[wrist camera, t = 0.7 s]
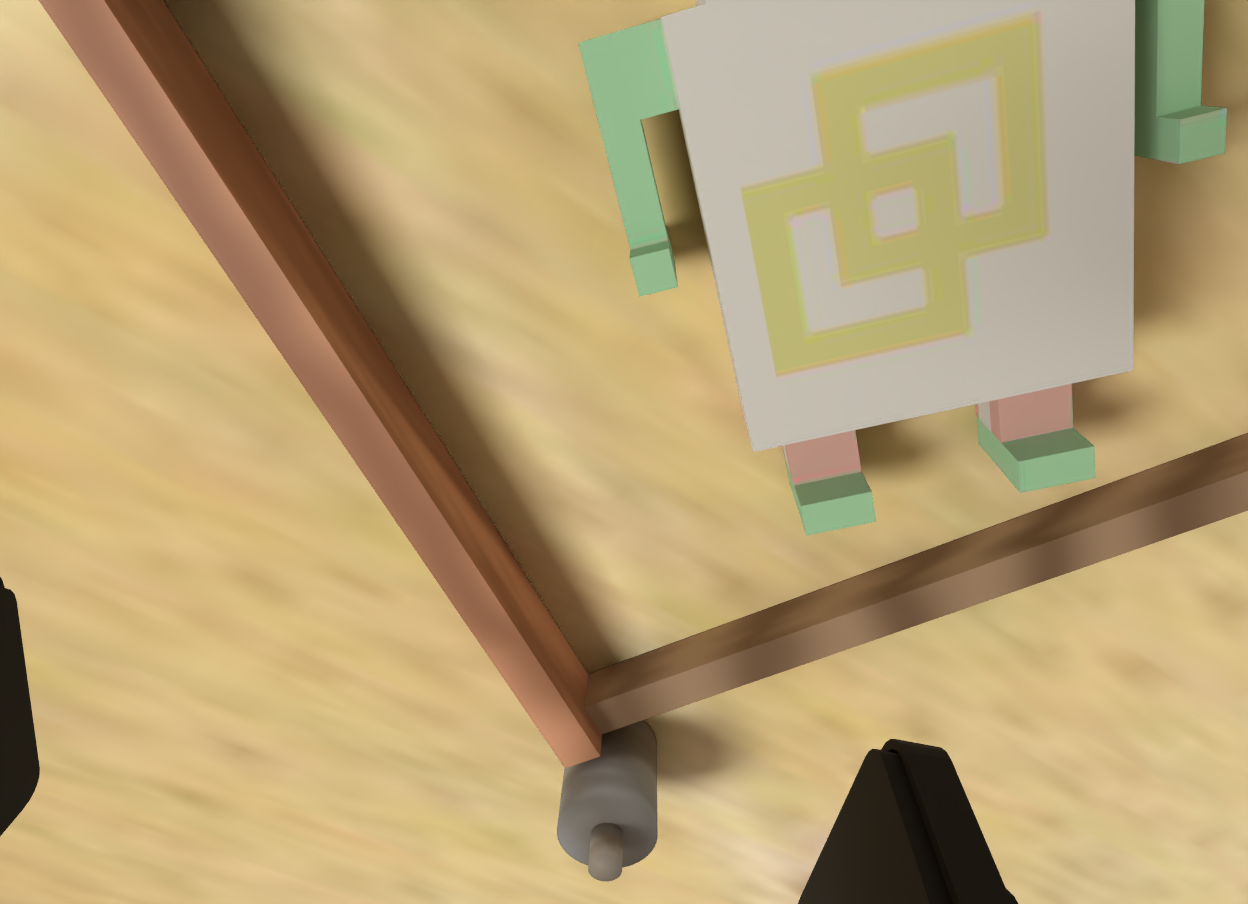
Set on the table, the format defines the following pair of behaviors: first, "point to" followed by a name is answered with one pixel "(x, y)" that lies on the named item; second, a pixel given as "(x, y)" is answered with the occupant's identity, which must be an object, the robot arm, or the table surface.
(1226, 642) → the table surface
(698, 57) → the decorative block
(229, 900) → the table surface
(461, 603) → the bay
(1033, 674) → the table surface
